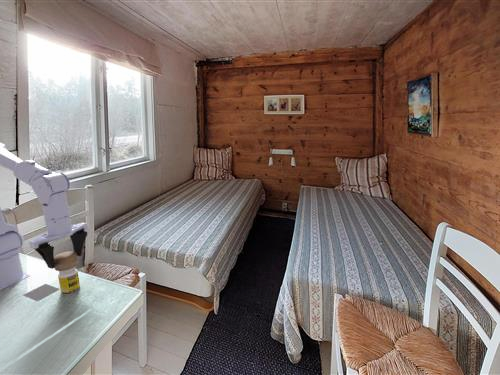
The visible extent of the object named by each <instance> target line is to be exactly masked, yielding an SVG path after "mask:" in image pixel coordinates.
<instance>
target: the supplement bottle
mask: <svg viewBox="0 0 500 375" xmlns="http://www.w3.org/2000/svg"><path fill="white" fill-rule="evenodd" d="M57 277H58V282H59V283H58V284H59V290H60V293H61V295H63V296H68V295H72V294H75V293H76V292H79V291H80V289H81V284H80V279H79V278H80V277H79V272H78V269H77V267H76V266H75V267H74V268H71V269H69V270H65V271H58V275H57Z"/></svg>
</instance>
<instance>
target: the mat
mask: <svg viewBox="0 0 500 375" xmlns="http://www.w3.org/2000/svg"><path fill="white" fill-rule="evenodd" d="M57 291H60V287H59V288H58V287H55V286H52V285H50V284H48V283H47V284H46V283H44V284H42V285H39V286H38V287H36V288H34V289H32V290H30V291H28V292H27V293H24V294H23V296H24V297H26V298H29V299H32V300H34V301H36V302H39V301H41V300H42V299H44V298H47V297H49V296H50V295H52V294H55V292H57Z"/></svg>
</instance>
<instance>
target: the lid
mask: <svg viewBox="0 0 500 375" xmlns="http://www.w3.org/2000/svg"><path fill="white" fill-rule="evenodd" d="M78 260H79V259H78V256H77V254H76V252H74V250H73V251H72V250H71V251H70V250H69V251H64V252H60V253H58V254H56V255H54V262H55V268H54V270H55V271H57V272H59V271H65V270H69V269H71V268H74V267H76V266H77V265H79V261H78ZM77 267H78V266H77Z"/></svg>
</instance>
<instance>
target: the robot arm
mask: <svg viewBox="0 0 500 375" xmlns="http://www.w3.org/2000/svg"><path fill="white" fill-rule="evenodd" d="M0 166H1V167H3V168H6V169H7V170H10V171H12V173H13V176H14V177H15V178H16V179H18V180H19V181H21V182H22V183H25V184H26V185H29V186H30V187H31V189H32V191H33V193H34V194H35V196H36V197H37V200H38V202H39V203H40V204H41V207H42V208H41V209H42V212H43V213H42V214H43V217H44V223H45V228H46V233H43V234H42V235H40V236H37V237H35V238H33V239H31V240H28V243H29V248H30V249H33V250H34V251H36V252H37V254H39V255H40V256H41V258H42V260H43V261H44V262H45V264H46V266H47V268H48V269H52V270H53V269H55V262H54V256H55V255H54V252H55V251H54V250H55V247H54V246H53V245H50V243H52V242H55V241H57V240H60V239H63V238H66V237H70V241H71V243H72V248H73V252H76V254H77V257H82V255H83V248H84V244H85V241H86V238H87V237H88V231H86V230H88V224H87V223H86V222H80V223H76V224H72V220H71V215H70V214H71V213H70V209H69V203H68V195H67V192H68V191H69V190H70V188H71V187H70V186H71V184H70V183H71V182H70V180H69V177H68V176H67V175H66V174H64V172H62V171H57V172H56V171H50V169H47V168H45V167H44V166H41V165H39V164H38V163H37V162H36V161H34V160H33V159H32V160H29V159H27V160H22V159H20V158H19V157H18V156H16V155H14V154H13V153H12V152H10V151H8V149H7V147H6V144H4V143H2V142H0ZM24 243H25V240H24V236H23V234H21V232H20V231H19V230H18V226H16V225H14V224H10V223H6V220H5V217H4V214H3V212H2V208H1V207H0V290H3V289H4V288H8V287H9V286H12V285H14V284H16V283H18V282H21V281H22V280H26V279H27V278H29V277H31V275H30V274H27V273H24V271H23V266H22V262H21V258H20V251H22V250H21V248H22V247H24Z"/></svg>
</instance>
